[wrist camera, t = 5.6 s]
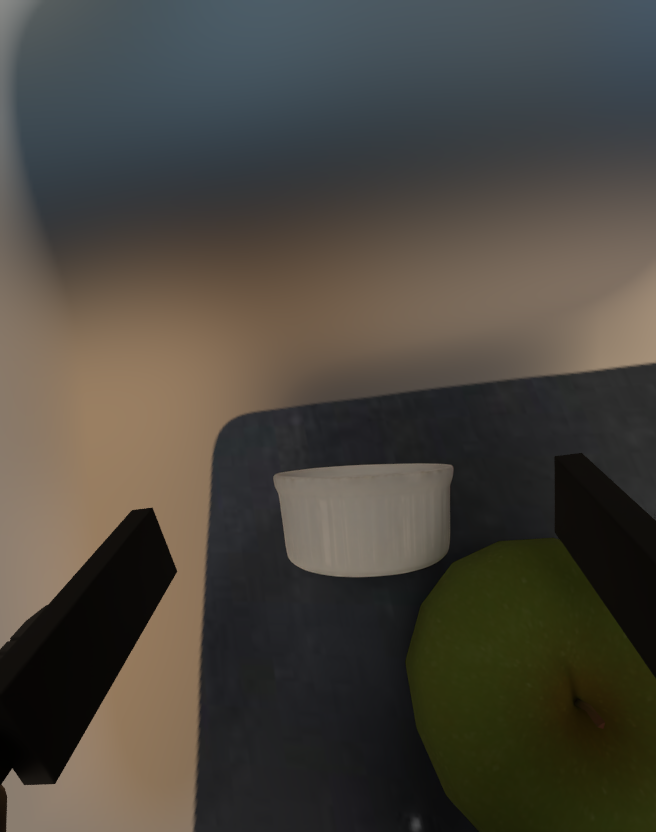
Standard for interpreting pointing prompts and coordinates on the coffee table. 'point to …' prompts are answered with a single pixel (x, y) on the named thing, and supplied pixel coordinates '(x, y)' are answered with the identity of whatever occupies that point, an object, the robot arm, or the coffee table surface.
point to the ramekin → (366, 518)
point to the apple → (533, 696)
